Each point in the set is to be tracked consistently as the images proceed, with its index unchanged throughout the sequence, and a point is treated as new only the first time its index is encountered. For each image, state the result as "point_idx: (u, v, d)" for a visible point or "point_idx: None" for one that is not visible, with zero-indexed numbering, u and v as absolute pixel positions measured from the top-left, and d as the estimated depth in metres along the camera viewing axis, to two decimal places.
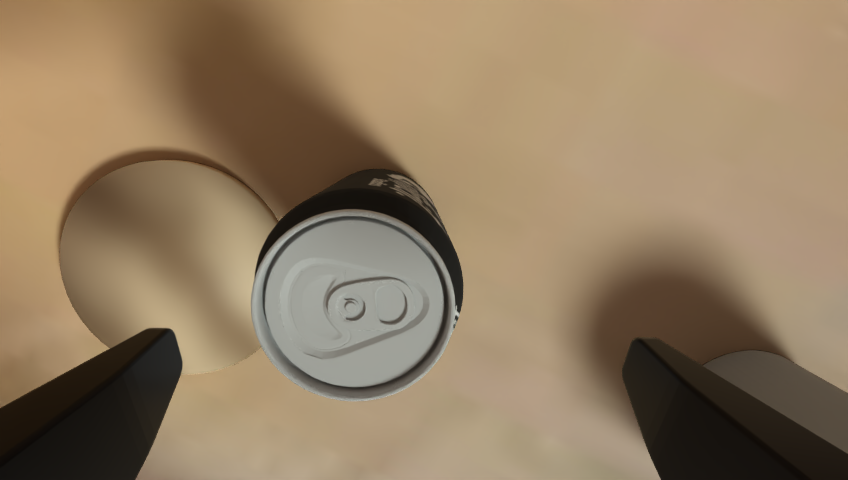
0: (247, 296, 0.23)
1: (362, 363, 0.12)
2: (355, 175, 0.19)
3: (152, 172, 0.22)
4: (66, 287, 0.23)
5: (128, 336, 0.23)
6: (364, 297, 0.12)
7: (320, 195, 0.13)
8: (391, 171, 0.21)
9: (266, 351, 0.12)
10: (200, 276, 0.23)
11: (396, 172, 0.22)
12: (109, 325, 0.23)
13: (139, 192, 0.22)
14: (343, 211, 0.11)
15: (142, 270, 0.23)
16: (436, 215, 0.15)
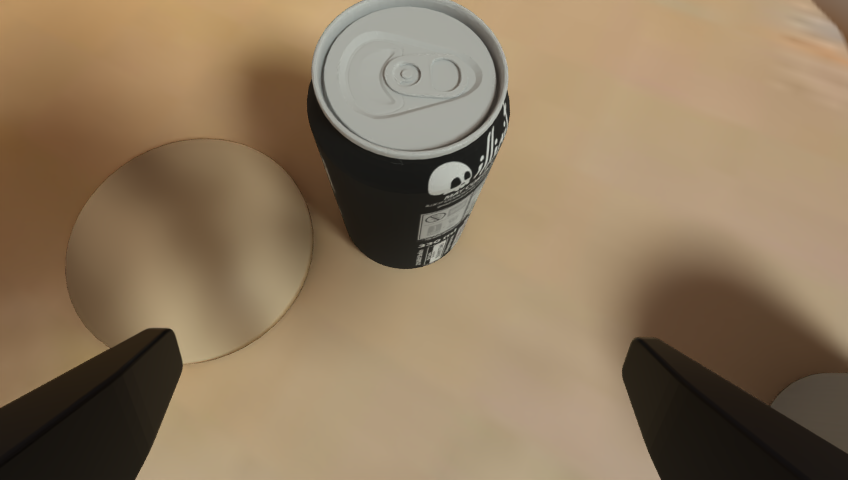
0: (259, 270, 0.21)
1: (414, 125, 0.12)
2: None
3: (199, 148, 0.23)
4: (68, 251, 0.21)
5: (112, 310, 0.20)
6: (419, 65, 0.13)
7: None
8: None
9: (320, 96, 0.12)
10: (215, 246, 0.22)
11: None
12: (95, 296, 0.21)
13: (181, 164, 0.23)
14: None
15: (156, 236, 0.22)
16: None
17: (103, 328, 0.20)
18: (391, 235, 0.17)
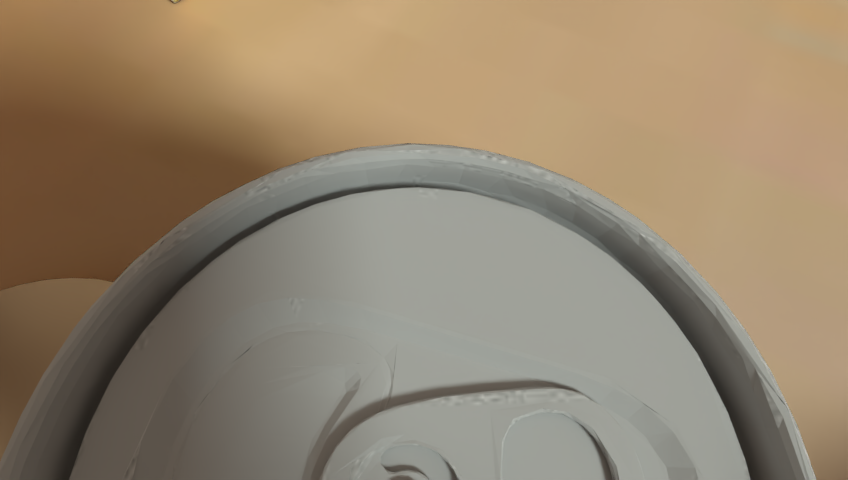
0: None
1: None
2: None
3: (59, 295, 0.14)
4: None
5: None
6: (459, 458, 0.03)
7: None
8: None
9: None
10: None
11: None
12: None
13: (24, 326, 0.14)
14: (412, 145, 0.04)
15: None
16: None
17: None
18: None
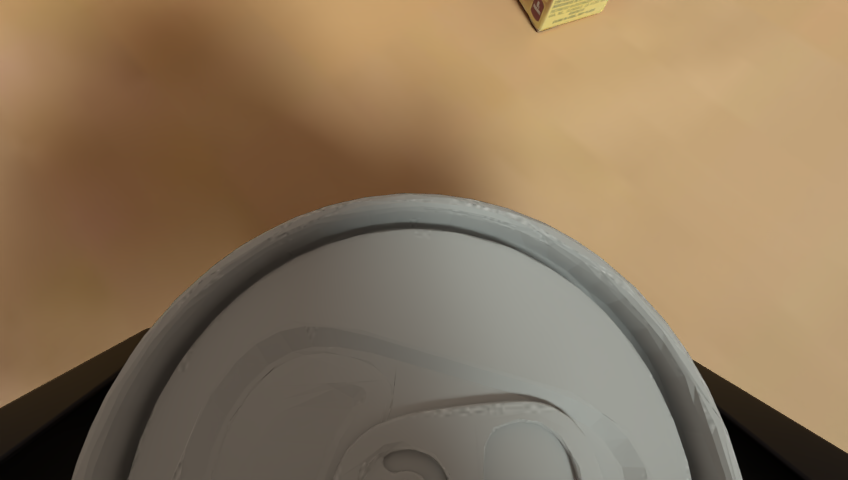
0: None
1: None
2: None
3: None
4: None
5: None
6: (448, 461, 0.04)
7: None
8: None
9: None
10: None
11: None
12: None
13: None
14: (409, 194, 0.04)
15: None
16: None
17: None
18: None
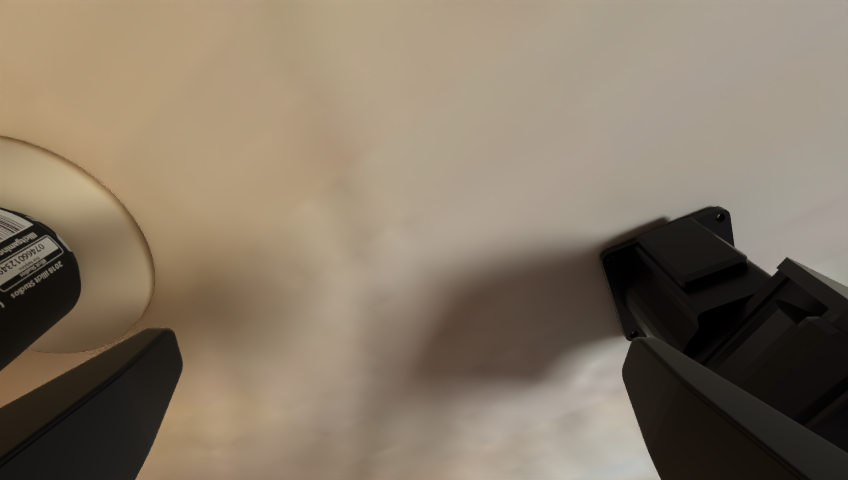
0: (48, 205, 0.20)
1: None
2: None
3: None
4: (33, 349, 0.23)
5: (91, 326, 0.23)
6: None
7: None
8: None
9: None
10: None
11: None
12: (78, 336, 0.23)
13: None
14: None
15: None
16: None
17: (109, 334, 0.23)
18: None
